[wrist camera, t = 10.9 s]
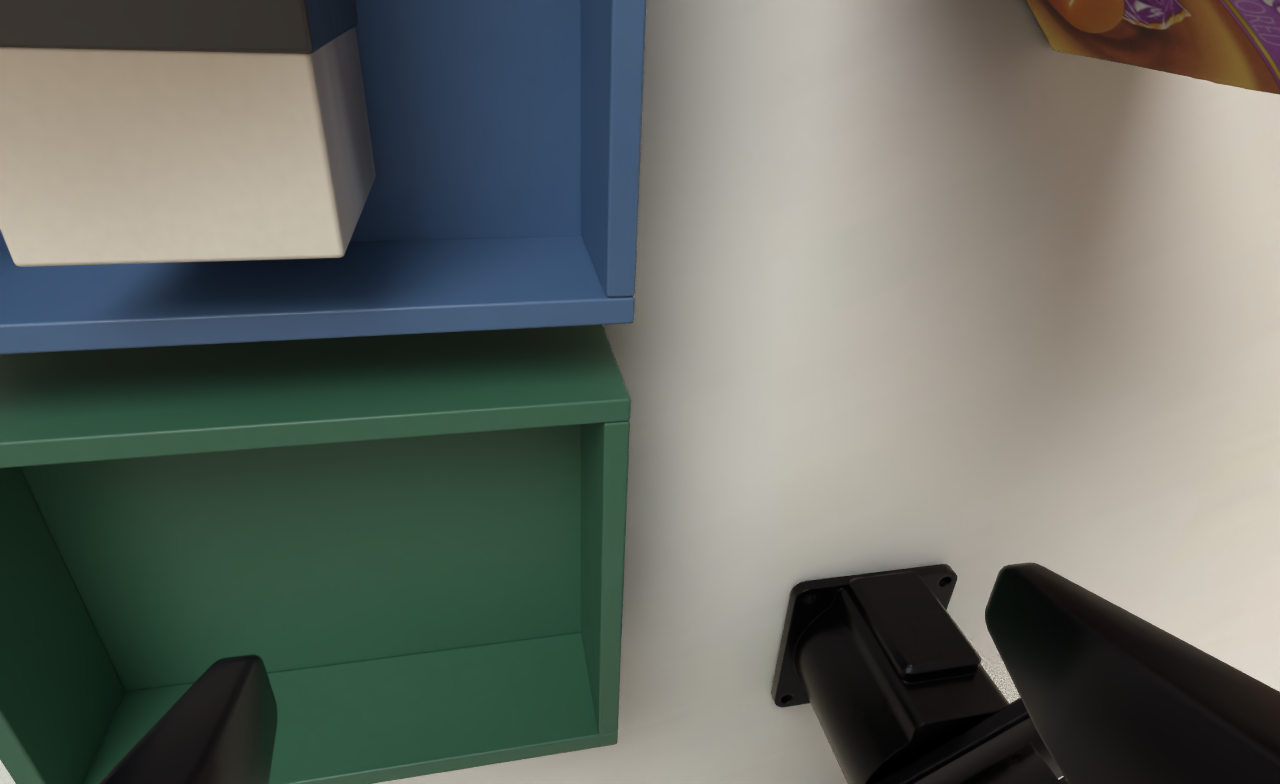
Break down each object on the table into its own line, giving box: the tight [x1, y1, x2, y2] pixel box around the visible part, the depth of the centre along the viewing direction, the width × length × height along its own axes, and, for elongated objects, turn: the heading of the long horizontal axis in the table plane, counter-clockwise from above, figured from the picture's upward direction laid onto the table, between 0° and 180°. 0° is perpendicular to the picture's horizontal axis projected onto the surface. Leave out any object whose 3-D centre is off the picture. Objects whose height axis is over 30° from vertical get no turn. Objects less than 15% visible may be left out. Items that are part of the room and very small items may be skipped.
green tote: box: [0, 325, 631, 784], centre depth 20 cm, size 12×15×4 cm
